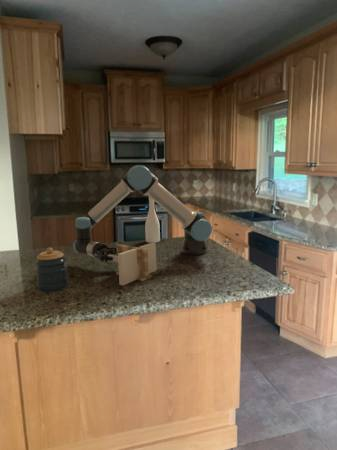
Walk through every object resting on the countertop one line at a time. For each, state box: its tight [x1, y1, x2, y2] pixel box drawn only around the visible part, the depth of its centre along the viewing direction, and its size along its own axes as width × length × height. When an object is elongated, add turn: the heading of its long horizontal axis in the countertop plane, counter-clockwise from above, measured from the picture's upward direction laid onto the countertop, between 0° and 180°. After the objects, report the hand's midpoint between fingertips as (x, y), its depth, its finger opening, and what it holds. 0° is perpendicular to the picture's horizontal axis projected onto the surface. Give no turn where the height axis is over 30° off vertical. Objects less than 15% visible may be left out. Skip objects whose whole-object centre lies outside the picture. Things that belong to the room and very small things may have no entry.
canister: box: [34, 247, 69, 293], centre depth 149 cm, size 13×13×18 cm
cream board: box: [118, 242, 157, 286], centre depth 158 cm, size 24×2×14 cm, turn 144°
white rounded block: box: [144, 196, 161, 244], centre depth 226 cm, size 10×10×30 cm
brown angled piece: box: [115, 243, 152, 282], centre depth 161 cm, size 18×6×14 cm, turn 54°
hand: (128, 255), depth 161 cm, fingers open, 13 cm apart
